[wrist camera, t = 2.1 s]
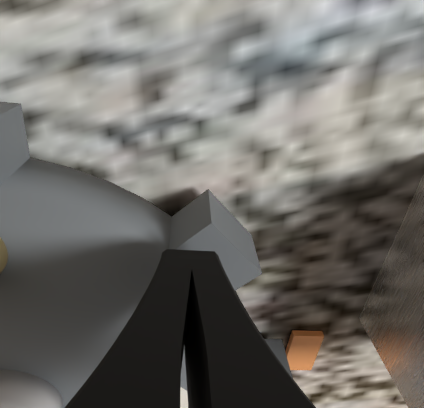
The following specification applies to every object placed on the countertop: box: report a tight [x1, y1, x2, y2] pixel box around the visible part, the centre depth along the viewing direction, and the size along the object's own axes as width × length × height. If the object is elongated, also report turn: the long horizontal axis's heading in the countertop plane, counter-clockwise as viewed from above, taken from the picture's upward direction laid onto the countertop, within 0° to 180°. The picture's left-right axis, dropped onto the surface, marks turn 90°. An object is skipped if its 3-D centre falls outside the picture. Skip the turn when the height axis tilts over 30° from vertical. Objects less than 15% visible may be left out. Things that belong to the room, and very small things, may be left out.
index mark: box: [285, 330, 324, 370], centre depth 16 cm, size 2×1×1 cm, turn 174°
